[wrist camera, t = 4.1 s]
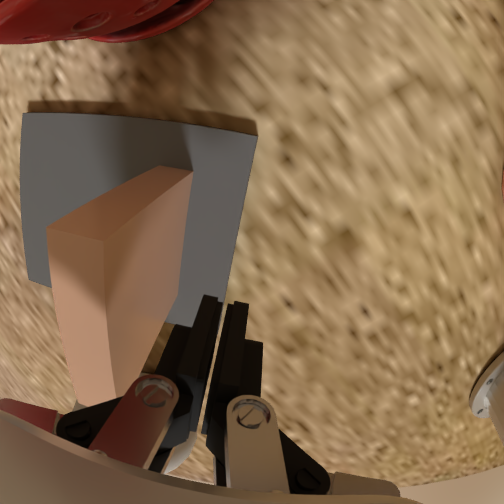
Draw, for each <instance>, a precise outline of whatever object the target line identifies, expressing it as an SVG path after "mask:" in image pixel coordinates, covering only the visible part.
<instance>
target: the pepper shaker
mask: <svg viewBox="0 0 504 504" xmlns="http://www.w3.org/2000/svg"><path fill="white" fill-rule="evenodd" d="M502 191H503V200H504V170H503V182H502Z"/></svg>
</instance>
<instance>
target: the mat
mask: <svg viewBox="0 0 504 504" xmlns="http://www.w3.org/2000/svg"><path fill="white" fill-rule="evenodd" d="M257 139H258V136H257V135H252V134H247V133H242V132H236V131H231V130H225V129H220V128H214V127H208V126H202V125H195V124H188V123H181V122H174V121H166V120H158V119H150V118H140V117H130V116H118V115H105V114H88V113H62V112H28V113H23V117H22V129H21V146H20V201H21V219H22V231H23V241H24V250H25V258H26V265H27V272H28V278H29V280H31V281H33V282H36V283H39V284H42V285H45V286H47V287H50V288H52V284H51V276H50V268H49V258H48V248H47V234H46V227H47V226H49V225H50V224H52V223H54V222H55V221H57V220H59V219H60V218H62V217H64V216H65V215H67V214H69V213H70V212H72V211H74V210H75V209H77V208H79V207H81V206H82V205H84V204H86V203H88V202H89V201H91V200H93V199H95V198H97V197H98V196H100V195H102V194H104V193H106V192H108V191H109V190H111V189H113V188H115V187H117V186H119V185H121V184H123V183H125V182H127V181H129V180H131V179H133V178H135V177H137V176H139V175H141V174H143V173H145V172H147V171H149V170H151V169H153V168H155V167H157V166H159V165H160V166H166V167H172V168H178V169H184V170H189V171H194V172H193V178H192V184H191V191H190V198H189V204H188V212H187V219H186V226H185V234H184V242H183V250H182V259H181V267H180V277H179V286H178V295H177V297H176V299H175V301H174V303H173V305H172V307H171V309H170V311H169V313H168V315H167V318H166V320H165V322H167V323H171V324H179V325H183V326H188V327H192V326H193V323H194V320H195V317H196V314H197V312H198V309H199V306H200V303H201V300H202V297H203V295H204V294H205V295H210V296H214V297H218V301H219V302H223V305H224V300H225V295H226V290H227V284H228V279H229V274H230V269H231V264H232V259H233V254H234V249H235V244H236V239H237V234H238V229H239V224H240V219H241V215H242V210H243V205H244V200H245V195H246V190H247V186H248V181H249V176H250V171H251V167H252V162H253V157H254V152H255V148H256V143H257ZM222 310H223V307H222ZM221 316H222V312H221ZM220 321H221V317H220ZM219 326H220V322H219ZM218 330H219V327H218ZM217 334H218V333H217Z"/></svg>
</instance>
